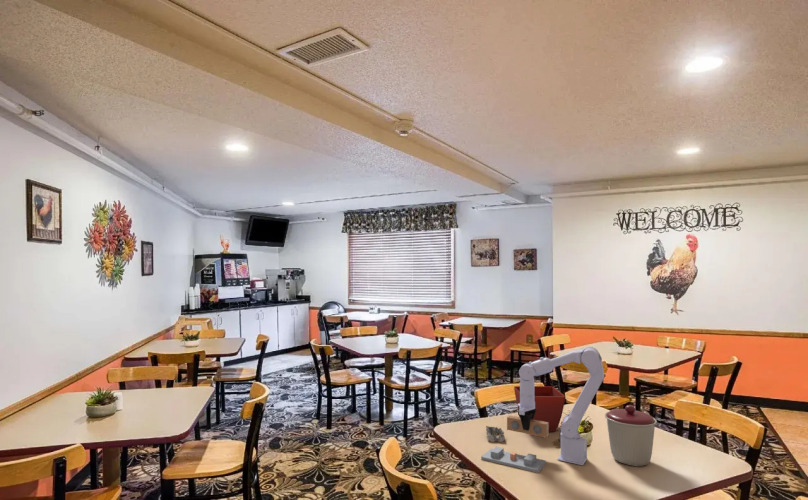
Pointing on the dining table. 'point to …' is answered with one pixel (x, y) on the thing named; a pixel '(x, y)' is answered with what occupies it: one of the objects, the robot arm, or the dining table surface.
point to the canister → (631, 435)
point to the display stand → (514, 459)
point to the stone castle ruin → (494, 434)
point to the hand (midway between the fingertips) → (527, 428)
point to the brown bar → (535, 427)
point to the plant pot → (546, 405)
